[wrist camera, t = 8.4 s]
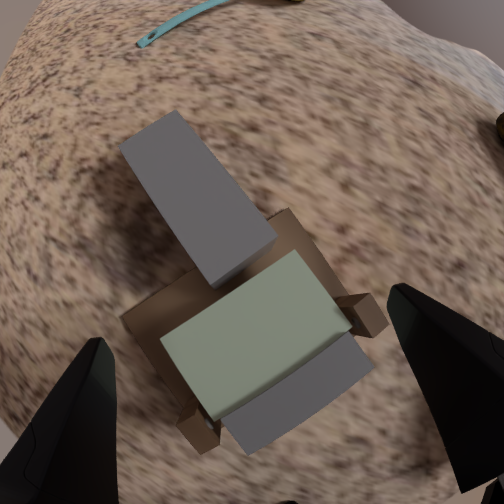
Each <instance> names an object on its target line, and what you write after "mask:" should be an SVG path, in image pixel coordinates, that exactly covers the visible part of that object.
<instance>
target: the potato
mask: <svg viewBox="0 0 504 504" xmlns="http://www.w3.org/2000/svg"><path fill="white" fill-rule="evenodd" d="M496 126H497V130H498V132H499V135H500V136H501V138H502V139H503V140H504V112H503V113H502V114H501V115H500V116H499V117H498V118H497V120H496Z"/></svg>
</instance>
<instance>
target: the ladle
mask: <svg viewBox="0 0 504 504" xmlns="http://www.w3.org/2000/svg"><path fill="white" fill-rule="evenodd" d="M226 1H229V0H209V1H206V2H204V3H202V4H199V5H197V6H195V7H192V8H190V9H188V10H186V11H184V12H182V13H181V14H179V15H177V16H175V17H173V18H171V19H170V20H168V21H167V22H165V23H163V24H162V25H160V26H159V27H157V28H156V29H154V30H153V31H151V32H150V33H149V34H147V35H146V36H144V37H143V38H141V39H140V40H139V41H137V44H138V45H139V47H140V48H144V47H145V46H147V45H148V44H149V43H151V42H152V41H153V40H155V39H156V38H158V37H159V36H161V35H162V34H164V33H165V32H167V31H168V30H170V29H172V28H173V27H175V26H176V25H178V24H180V23H181V22H183V21H185V20H187V19H189V18H191V17H192V16H194V15H196V14H198V13H200V12H202V11H205V10H207V9H209V8H211V7H214V6H216V5H218V4H221V3H224V2H226ZM293 1H303V0H293ZM152 34H155V36H154V37H153V38H151V39H149V40H147V38H148V37H149V36H150V35H152Z"/></svg>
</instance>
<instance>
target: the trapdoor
mask: <svg viewBox="0 0 504 504" xmlns="http://www.w3.org/2000/svg"><path fill="white" fill-rule="evenodd" d="M352 327H353V326H352V325H351V324H350V322H349V321H348V320H347V318H346V317H345V315H344V314H343V313H342V311H341V310H340V309H339V307H338V306H337V304H336V303H335V302H334V300H333V299H332V298H331V296H330V295H329V294H328V292H327V291H326V290H325V288H324V287H323V286H322V284H321V283H320V282H319V280H318V279H317V278H316V276H315V275H314V274H313V272H312V271H311V270H310V268H309V267H308V266H307V264H306V263H305V262H304V260H303V259H302V258H301V257H300V255H299V254H298V253H297V251H296V250H295V249H294V250H293V251H291V252H290V253H288V254H287V255H285V256H284V257H282V258H281V259H279V260H278V261H277V262H275V263H274V264H272V265H271V266H269V267H268V268H266V269H265V270H263V271H262V272H260V273H259V274H257V275H256V276H254V277H253V278H251V279H250V280H248V281H247V282H245V283H244V284H242V285H241V286H239V287H238V288H236V289H235V290H233V291H232V292H230V293H229V294H227V295H226V296H224V297H223V298H221V299H220V300H218V301H217V302H215V303H214V304H212V305H211V306H209V307H208V308H206V309H205V310H203V311H202V312H200V313H199V314H197V315H196V316H194V317H192V318H191V319H189V320H188V321H186V322H185V323H183V324H182V325H180V326H179V327H177V328H176V329H174V330H172V331H171V332H169V333H168V334H166V335H165V336H163V337H162V338H160V340H161V342H162V344H163V345H164V347H165V349H166V350H167V352H168V354H169V355H170V357H171V358H172V360H173V362H174V363H175V365H176V366H177V368H178V370H179V371H180V373H181V374H182V376H183V377H184V379H185V380H186V382H187V383H188V385H189V386H190V388H191V389H192V391H193V392H194V394H195V395H196V397H197V398H198V400H199V401H200V403H201V404H202V405H203V407H204V408H205V410H206V411H207V412H208V414H209V415H210V417H211V418H212V419H213V421H214V422H215V421H216V420H218V419H220V418H221V419H220V420H221V421H222V423H223V424H224V426H225V427H226V428H227V429H228V431H229V432H230V433H231V435H232V436H233V437H234V439H235V440H236V441H237V442H238V444H239V445H240V446H241V448H242V449H243V450H244V451H245V453H246V454H247V455H250V454H252V453H254V452H256V451H257V450H259V449H261V448H262V447H264V446H266V445H267V444H269V443H271V442H272V441H274V440H276V439H277V438H279V437H281V436H282V435H284V434H285V433H287V432H288V431H290V430H292V429H293V428H295V427H296V426H298V425H299V424H301V423H302V422H304V421H305V420H307V419H308V418H309V417H311V416H312V415H314V414H315V413H317V412H318V411H319V410H321V409H322V408H324V407H325V406H326V405H328V404H329V403H330V402H332V401H333V400H334V399H336V398H337V397H338V396H340V395H341V394H342V393H344V392H345V391H346V390H347V389H349V388H350V387H351V386H353V385H354V384H355V383H356V382H358V381H359V380H360V379H361V378H362V377H364V376H365V375H366V374H367V373H368V372H370V371H371V370H372V369H373V368H374V366H373V364H372V363H371V362H370V360H369V359H368V357H367V356H366V354H365V353H364V352H363V350H362V349H361V347H360V346H359V345H358V343H357V342H356V341H355V339H354V338H353V336H352V335H351V334H350V332H349V331H348V330H349V329H350V328H352Z"/></svg>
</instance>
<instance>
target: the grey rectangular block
mask: <svg viewBox="0 0 504 504" xmlns="http://www.w3.org/2000/svg"><path fill="white" fill-rule="evenodd" d="M118 147H119V149H120V151H121V152H122V154H123V155H124V157H125V159H126V160H127V162H128V164H129V165H130V167H131V168H132V170H133V171H134V173H135V175H136V176H137V178H138V179H139V181H140V182H141V184H142V186H143V187H144V189H145V190H146V192H147V193H148V195H149V196H150V198H151V199H152V201H153V202H154V204H155V205H156V207H157V209H158V210H159V212H160V213H161V215H162V216H163V218H164V219H165V221H166V222H167V224H168V225H169V226H170V228H171V229H172V231H173V232H174V234H175V235H176V237H177V238H178V240H179V241H180V243H181V244H182V246H183V247H184V248H185V250H186V251H187V253H188V254H189V256H190V257H191V258H192V260H193V261H194V263H195V264H196V266H197V267H198V268H199V270H200V271H201V273H202V274H203V275H204V277H205V278H206V280H207V281H208V282H209V284H210V285H211V286H212V288H213V289H214V290H215V291H216V290H217V289H219V288H220V287H221V286H223V285H224V284H226V283H227V282H228V281H230V280H231V279H232V278H234V277H235V276H237V275H238V274H239V273H241V272H242V271H243V270H245V269H246V268H248V267H249V266H250V265H252V264H253V263H254V262H256V261H257V260H259V259H260V258H261V257H263V256H264V255H265V254H267V253H268V252H269V251H271V250H272V248H273V246H274V244H275V242H276V240H277V238H278V234H277V233H276V232H275V230H274V229H273V228H272V227H271V225H270V224H269V223H268V222H267V220H266V219H265V218H264V216H263V215H262V214H261V213H260V211H259V210H258V209H257V208H256V206H255V205H254V204H253V203H252V201H251V200H250V199H249V198H248V196H247V195H246V194H245V193H244V191H243V190H242V189H241V188H240V186H239V185H238V184H237V183H236V181H235V180H234V179H233V178H232V177H231V175H230V174H229V173H228V172H227V170H226V169H225V168H224V167H223V165H222V164H221V163H220V162H219V161H218V159H217V158H216V157H215V156H214V154H213V153H212V152H211V151H210V150H209V148H208V147H207V146H206V145H205V144H204V142H203V141H202V140H201V139H200V138H199V136H198V135H197V134H196V133H195V132H194V130H193V129H192V128H191V127H190V126H189V124H188V123H187V122H186V121H185V120H184V119H183V117H182V116H181V115H180V114H179V113H178V111H177V110H174V111H172V112H170V113H169V114H167V115H165V116H164V117H162V118H160V119H159V120H157V121H155V122H154V123H152V124H151V125H149V126H147V127H146V128H144V129H143V130H141V131H140V132H138V133H136V134H135V135H133V136H132V137H130V138H129V139H127V140H126V141H124V142H123V143H121V144H120V145H119V146H118Z"/></svg>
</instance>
